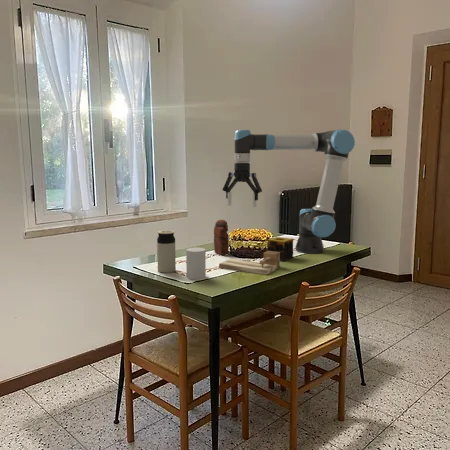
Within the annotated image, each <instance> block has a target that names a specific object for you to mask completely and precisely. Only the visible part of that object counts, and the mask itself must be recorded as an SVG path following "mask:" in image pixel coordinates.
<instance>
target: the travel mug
mask: <svg viewBox="0 0 450 450" xmlns="http://www.w3.org/2000/svg"><path fill="white" fill-rule="evenodd" d="M174 234H175V230H172V229H163V230H158V231H157V235H158V236H157V239H156V248H157V249H156V250H157V253H156V254H157V272H159V273H162V274H163V273H164V274H166V273H173V272H175V271H176V262H177V261H176V237H175V235H174Z"/></svg>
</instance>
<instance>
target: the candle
mask: <svg viewBox="0 0 450 450" xmlns="http://www.w3.org/2000/svg"><path fill="white" fill-rule="evenodd" d="M266 242H267V243H266V244H267V246H266V249H267V250H266V252H267V251H274V252H280V262H286V261H289V260H292V259H293V257H294V238H290V237H280V236H275V237H271V238H268V239H267V240H266Z"/></svg>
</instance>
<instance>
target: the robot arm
mask: <svg viewBox="0 0 450 450" xmlns="http://www.w3.org/2000/svg"><path fill="white" fill-rule="evenodd" d="M233 141H234V162H235V163H234V166H233V167H234V170H233V171H234V172H233V171H230V172H228V176H227V178H226V181H225V183H224V184H223V187H222V191H223V192H225V199H227V207H228V206H232V192H231V191H232V190H233V188H234V187H235V186H236V184H237V183H238V182H239V183H240V182H241V183H247V185H248V187H250V190H252V192H253V193H252V208H257V201H258V200H259V194H260V193H262V192H263V190H262V187H261V185H260V183H259V180H258V178H257V173H256V172H251V163H250V162H251V151H299V150H300V151H301V150H302V151H303V150H304V151H308V150H310V151H312V152H314V153H315V152H316V153H317V152H319V153H324V154H323V155H324V157H325V164H324V168H323V172H322V177H321V182H320V186H319V189H318V190H319V191H318V195H317V199H316V204H315V206H312V207H311V208H301V210H300V211H299V228H298V231H299V233H298V238H297V241H296V244H295V251H296V252H298V253H301V254H321V253H323V252H324V251H325V248H324V247H325V246H324V243H323V240H322V238H327V237H330V236H331V235H332V234H333V233H334V232H335V230H336V225H337V224H336V220H335V214H336V211H335V210H334V206H335V201H336V196H337V192H338V188H339V182H340V178H341V174H342V169H343V166H344V162H346V161H347V160H348V157H349V153H350V152H352V151H353V149H354V147H355V142H356V141H355V138H354V136H353V133H351V131H349V130H346V129H341V128H340V129H337V130H336V129H335V130H328V131H324V132H313V133H312V134H283V135H282V134H268V133H267V134H261V133H259V134H257V133H255V134H254V133H253V134H252V133H251V130H250V129H237V130H236V131H235V132H234V140H233ZM250 172H251V173H250ZM233 177H234V179H233ZM250 178H251V179H250ZM232 179H233V180H232ZM231 181H232V182H231ZM252 181H253V182H252ZM253 183H254V184H253Z"/></svg>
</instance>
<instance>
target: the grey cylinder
mask: <svg viewBox="0 0 450 450" xmlns="http://www.w3.org/2000/svg"><path fill="white" fill-rule="evenodd" d="M185 251H186V253H185V254H186V256H185V257H186V260H185V261H186V264H185V266H186V278H187V279H189V280H193V279H194V280H195V281H196V280H203V279H206V275H207V274H206V270H207V269H206V268H207V267H206V266H207V265H206V260H207V259H206V253H207V252H206V249H205V248H203V247H189V248H186V250H185Z"/></svg>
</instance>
